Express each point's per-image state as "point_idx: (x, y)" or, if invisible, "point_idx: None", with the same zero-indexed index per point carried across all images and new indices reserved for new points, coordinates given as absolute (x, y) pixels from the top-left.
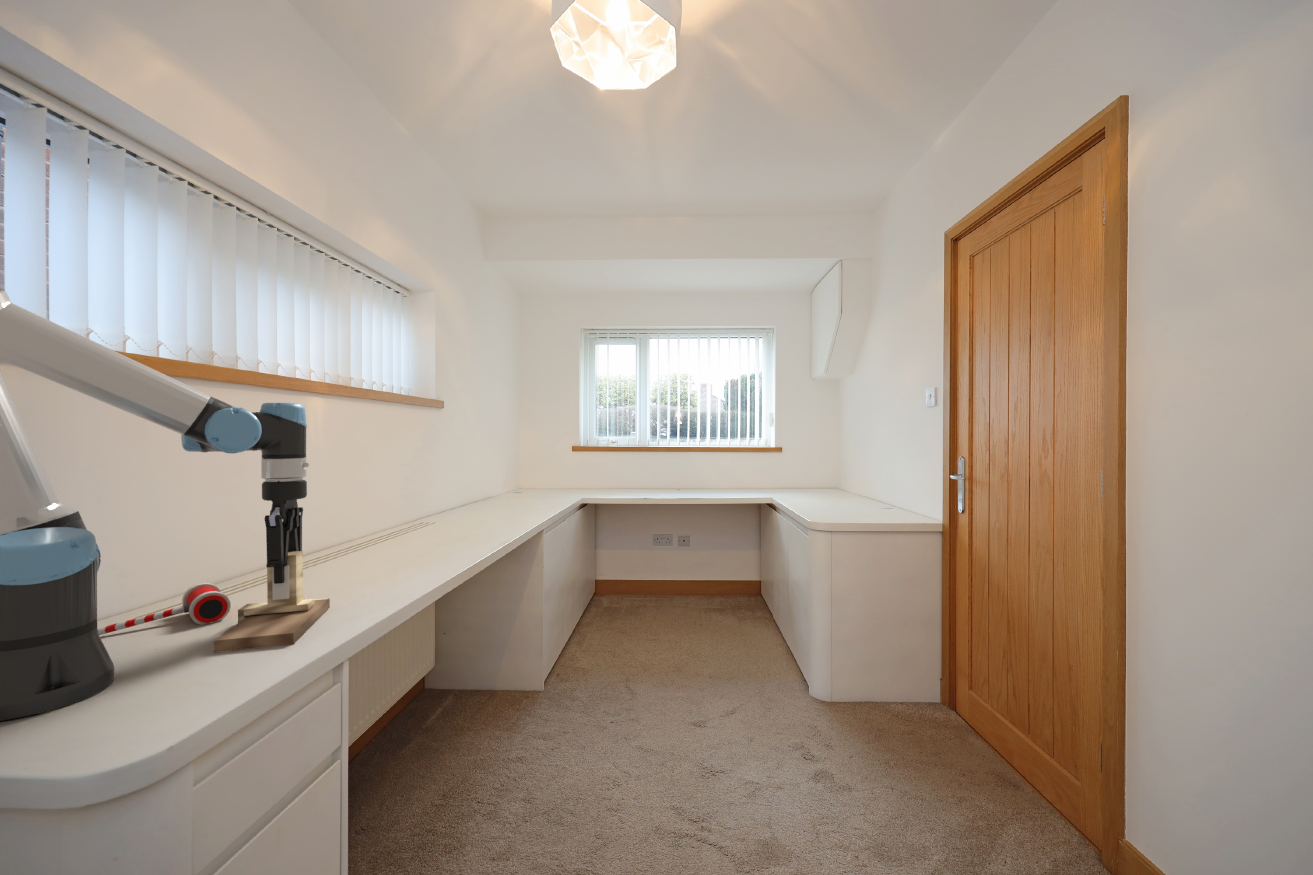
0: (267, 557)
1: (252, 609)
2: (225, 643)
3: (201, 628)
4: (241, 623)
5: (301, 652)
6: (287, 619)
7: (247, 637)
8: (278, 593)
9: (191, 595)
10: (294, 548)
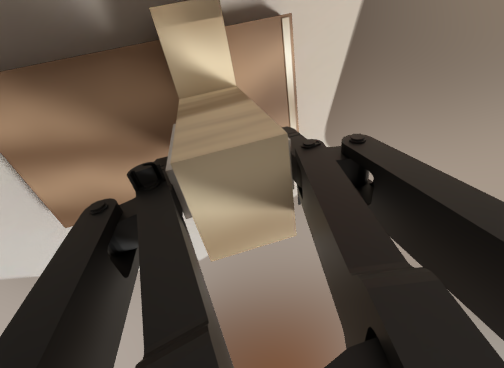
0: (69, 237)
1: (165, 56)
2: None
3: None
4: (101, 64)
5: (41, 246)
6: None
7: (5, 157)
8: None
9: None
10: (307, 214)
